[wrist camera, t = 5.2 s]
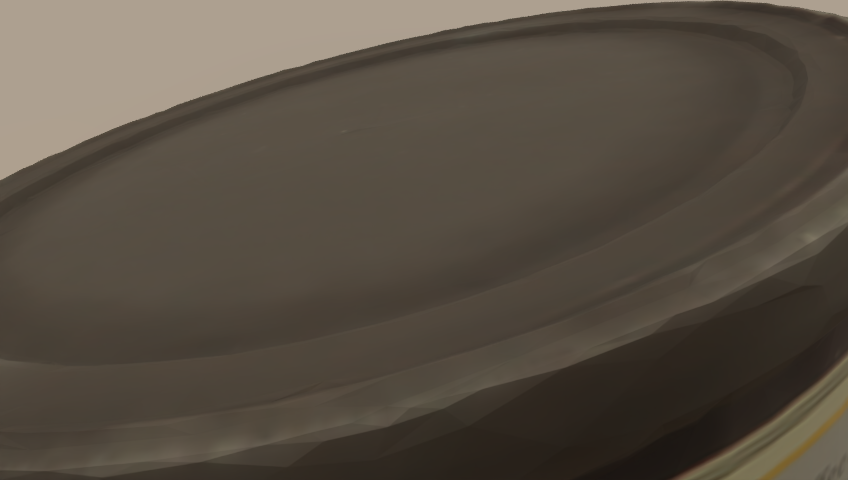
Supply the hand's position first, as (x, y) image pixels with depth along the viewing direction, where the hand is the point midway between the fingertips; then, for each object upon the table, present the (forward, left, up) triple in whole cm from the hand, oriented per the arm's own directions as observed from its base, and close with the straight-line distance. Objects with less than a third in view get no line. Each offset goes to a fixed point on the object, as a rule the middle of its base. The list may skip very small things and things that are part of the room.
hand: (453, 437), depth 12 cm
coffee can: (0, -2, -8) cm, 8 cm away
